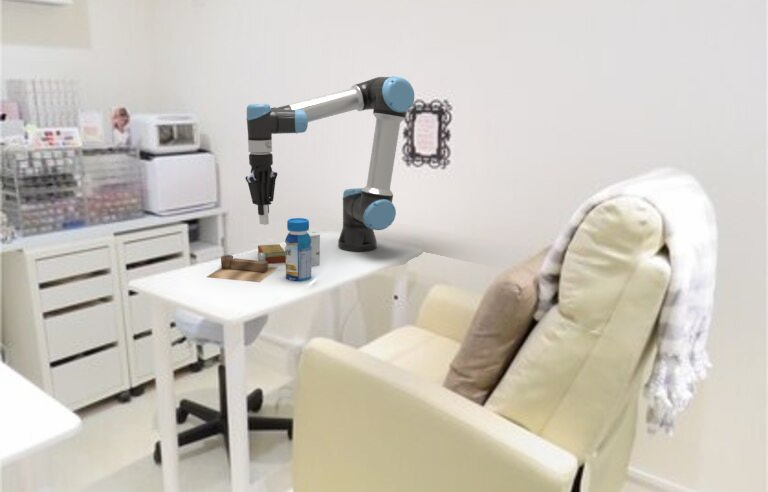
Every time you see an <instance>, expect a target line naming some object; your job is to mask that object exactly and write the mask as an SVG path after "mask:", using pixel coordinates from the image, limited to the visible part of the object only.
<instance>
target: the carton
mask: <svg viewBox="0 0 768 492" xmlns="http://www.w3.org/2000/svg"><path fill="white" fill-rule="evenodd" d="M257 252H258V253H265V258H266V261H267V262H268V265H273V264H286V253H285V249H284V248H283V247H282V246H281V244H274V243H273V244H261V245H257ZM258 253H257V254H258Z"/></svg>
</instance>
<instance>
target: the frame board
mask: <svg viewBox="0 0 768 492" xmlns="http://www.w3.org/2000/svg"><path fill="white" fill-rule="evenodd" d="M277 269H279V267H277V266H268V270H267V271H265V272H258V271H249V270H239V269H231V268H229V269H224V268H221V267H220V268H218V269H217V270H214V272H212V273H210V274H209V275H207V276H206V278H211V279H220V280H230V281H231V280H232V281H242V282H243V281H244V282H251V283H252V282H253V283H261V282H262V281H263V280H264V279H266V278H267V277H268V276H270V275H271V274H273V272H275V271H276V270H277Z"/></svg>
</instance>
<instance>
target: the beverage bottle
mask: <svg viewBox="0 0 768 492" xmlns="http://www.w3.org/2000/svg"><path fill="white" fill-rule="evenodd" d="M286 222H287V224H286V225H287V226H286V227H287V231H288V232H287V235H286V237H285V240H284V241H285V247H284V251H285V253H286V263H285V279H286V280H287V281H290V282H306V281H309V280H311V279H312V277H313V276H312V267H311V252H312V247H311V245H310V244H311V238H310V236H309V234H308V233H309V230H310V221H309V219H308V218H302V217H294V218H293V217H291V218H288V219H287V221H286Z"/></svg>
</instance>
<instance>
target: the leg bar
mask: <svg viewBox="0 0 768 492" xmlns="http://www.w3.org/2000/svg"><path fill="white" fill-rule="evenodd" d="M220 266H221V267H220V268H224V269H229V268H231V269H239V270H249V271H258V272H265V271H267V270H268V267H269V264H268V262H267V261H258V260H256V259H248V258H247V259H246V258H237V257H235V258H234V255H230V254H226V253H225V254H224V255H222V256H220Z"/></svg>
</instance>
